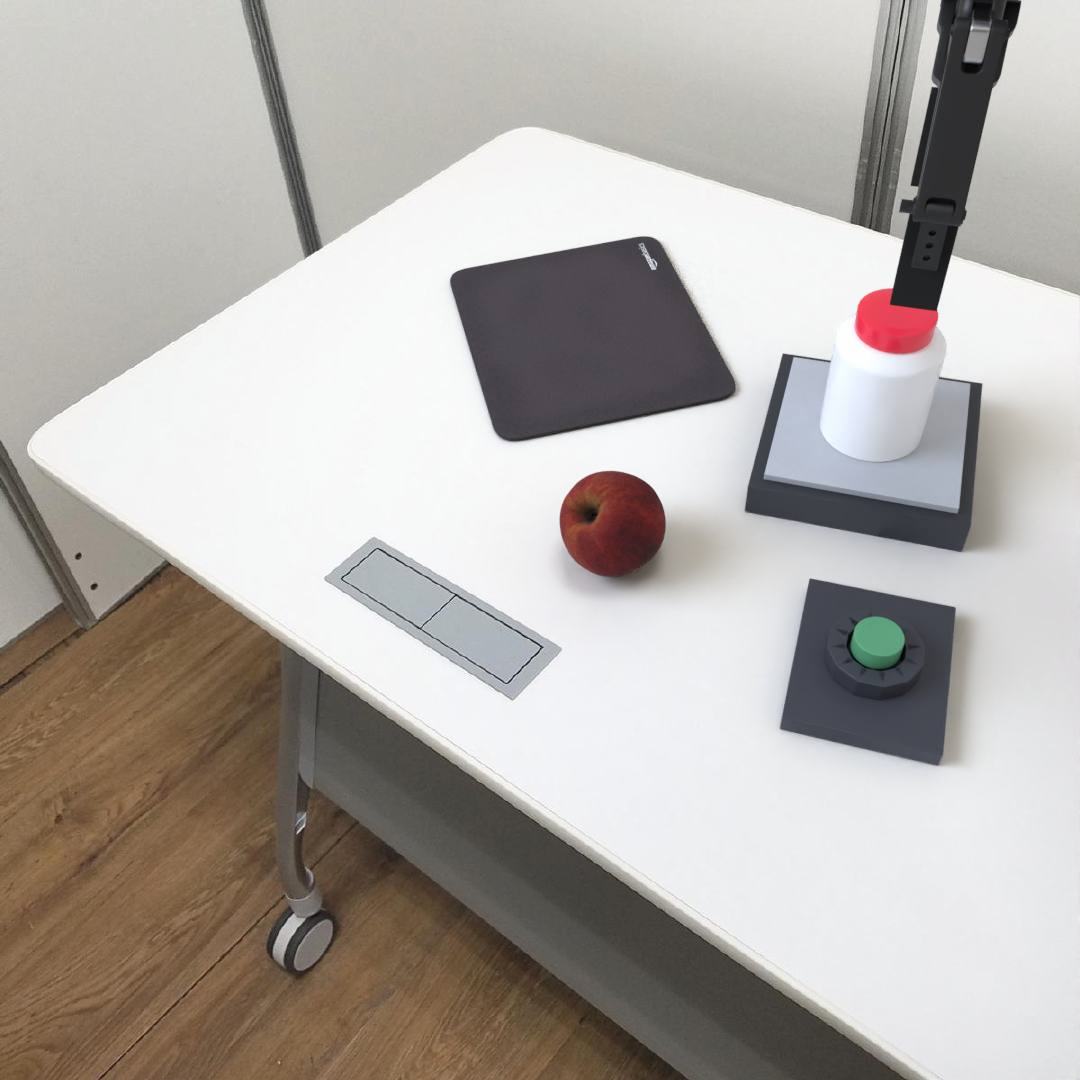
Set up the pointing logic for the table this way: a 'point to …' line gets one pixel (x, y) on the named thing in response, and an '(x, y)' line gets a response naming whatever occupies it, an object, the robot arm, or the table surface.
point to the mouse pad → (586, 338)
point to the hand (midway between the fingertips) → (923, 241)
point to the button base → (871, 674)
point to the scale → (867, 465)
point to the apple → (612, 523)
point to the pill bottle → (882, 379)
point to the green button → (877, 642)
